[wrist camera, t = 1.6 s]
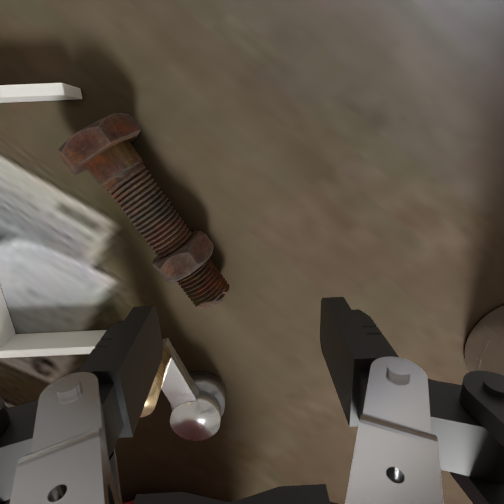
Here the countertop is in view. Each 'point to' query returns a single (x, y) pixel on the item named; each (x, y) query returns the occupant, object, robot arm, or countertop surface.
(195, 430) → the crank
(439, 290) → the countertop surface
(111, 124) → the bolt
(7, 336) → the corral
